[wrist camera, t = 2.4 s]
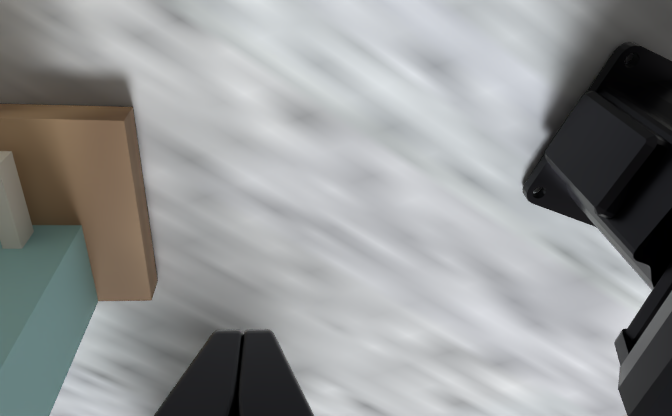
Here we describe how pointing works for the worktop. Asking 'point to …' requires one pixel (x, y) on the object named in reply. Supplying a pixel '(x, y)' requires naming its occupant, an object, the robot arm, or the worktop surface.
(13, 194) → the block
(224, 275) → the worktop surface
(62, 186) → the board
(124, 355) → the worktop surface
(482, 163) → the worktop surface
